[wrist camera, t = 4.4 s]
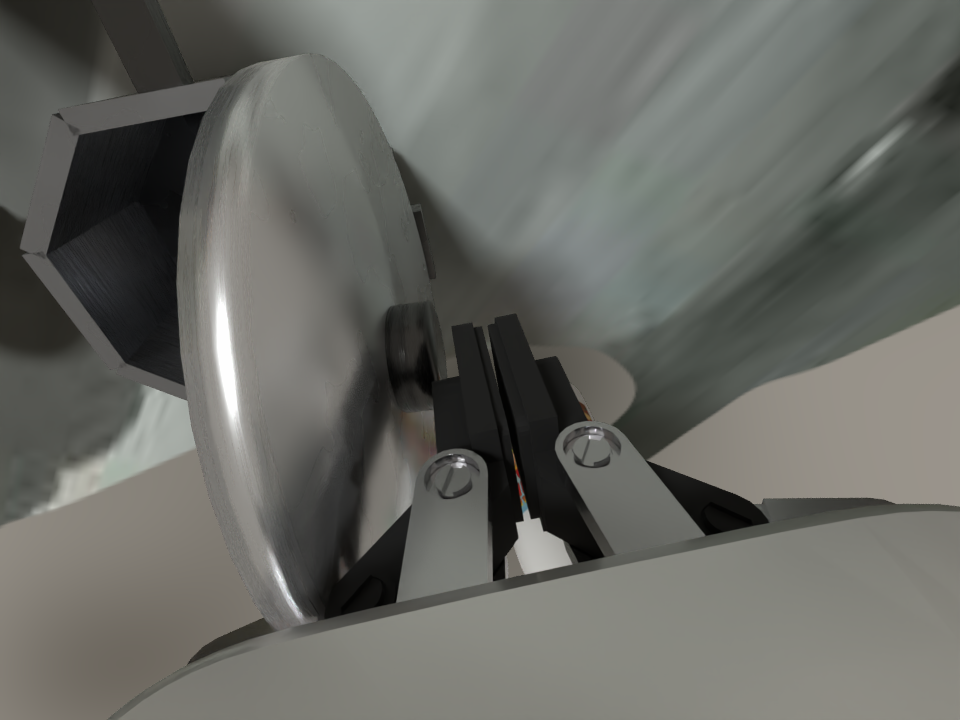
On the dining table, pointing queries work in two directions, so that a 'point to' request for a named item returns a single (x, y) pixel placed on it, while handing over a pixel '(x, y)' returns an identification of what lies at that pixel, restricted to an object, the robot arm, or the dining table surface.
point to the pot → (126, 202)
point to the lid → (303, 328)
